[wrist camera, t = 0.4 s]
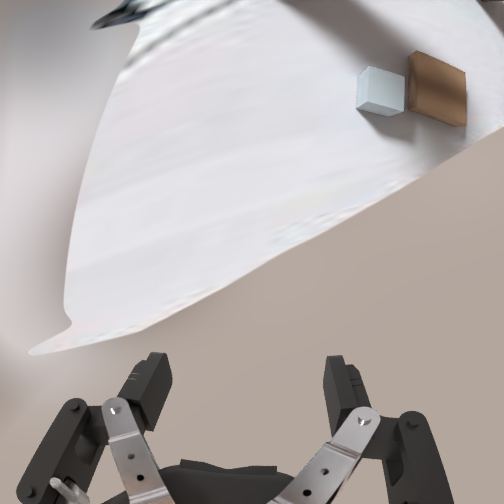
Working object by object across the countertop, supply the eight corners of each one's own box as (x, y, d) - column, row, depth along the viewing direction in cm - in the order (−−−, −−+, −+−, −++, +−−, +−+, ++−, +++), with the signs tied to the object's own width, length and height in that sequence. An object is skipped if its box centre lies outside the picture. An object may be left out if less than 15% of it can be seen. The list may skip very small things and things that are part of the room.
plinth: (408, 56, 30) (417, 50, 27) (455, 76, 29) (465, 72, 27) (407, 109, 32) (417, 106, 29) (455, 126, 32) (466, 125, 29)
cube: (357, 76, 32) (368, 65, 27) (390, 85, 32) (404, 76, 27) (355, 108, 33) (367, 101, 28) (388, 116, 33) (403, 111, 28)
